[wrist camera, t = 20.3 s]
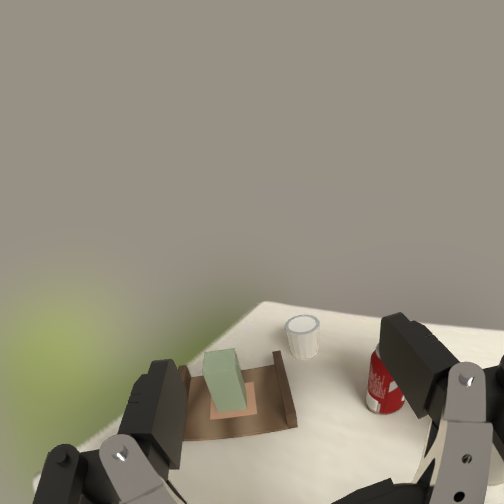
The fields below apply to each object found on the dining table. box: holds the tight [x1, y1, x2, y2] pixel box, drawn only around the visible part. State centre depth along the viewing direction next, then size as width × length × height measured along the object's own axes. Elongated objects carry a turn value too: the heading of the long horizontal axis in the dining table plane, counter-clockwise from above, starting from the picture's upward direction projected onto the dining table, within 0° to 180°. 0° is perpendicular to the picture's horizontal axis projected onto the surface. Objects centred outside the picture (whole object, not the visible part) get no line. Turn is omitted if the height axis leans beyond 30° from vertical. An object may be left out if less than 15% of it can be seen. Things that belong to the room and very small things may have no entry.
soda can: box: [366, 343, 405, 415], centre depth 37 cm, size 7×7×12 cm
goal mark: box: [210, 382, 257, 420], centre depth 46 cm, size 8×8×1 cm
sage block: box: [202, 348, 247, 413], centre depth 44 cm, size 5×5×10 cm
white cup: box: [285, 315, 319, 360], centre depth 55 cm, size 7×7×7 cm
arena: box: [178, 351, 298, 441], centre depth 45 cm, size 20×16×4 cm
